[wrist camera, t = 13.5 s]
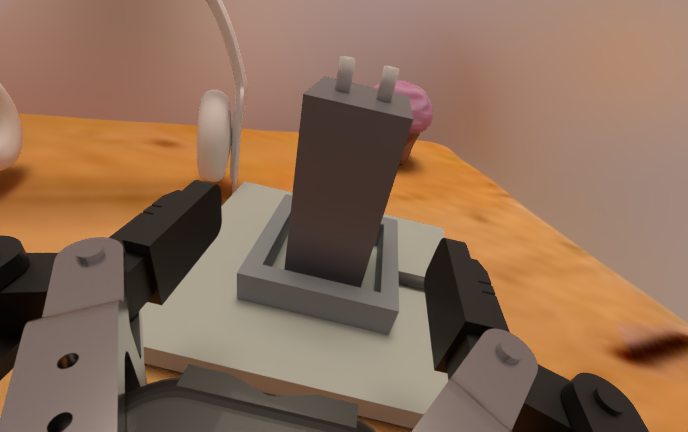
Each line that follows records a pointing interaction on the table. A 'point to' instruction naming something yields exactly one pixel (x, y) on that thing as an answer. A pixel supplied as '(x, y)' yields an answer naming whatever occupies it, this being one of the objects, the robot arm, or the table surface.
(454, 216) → the table surface
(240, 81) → the headset
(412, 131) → the cupcake
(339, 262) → the charger block
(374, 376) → the charging dock
